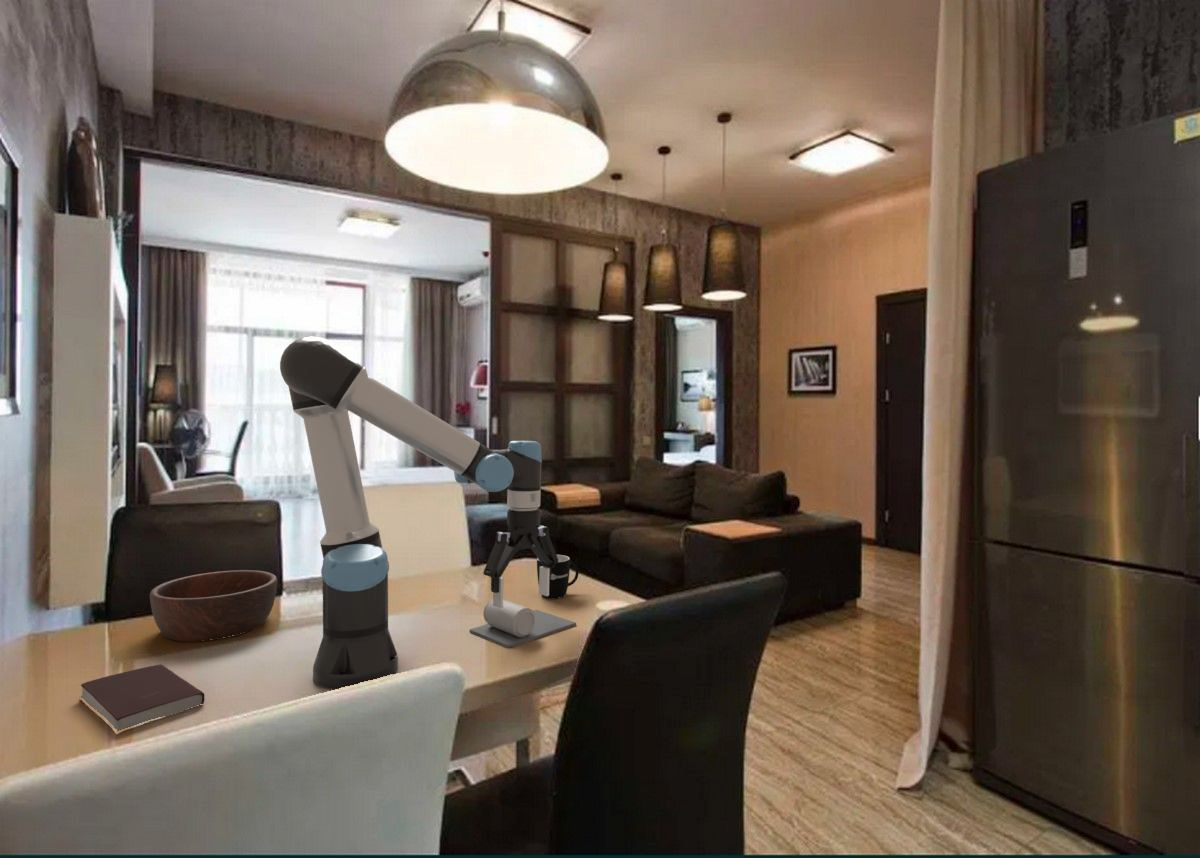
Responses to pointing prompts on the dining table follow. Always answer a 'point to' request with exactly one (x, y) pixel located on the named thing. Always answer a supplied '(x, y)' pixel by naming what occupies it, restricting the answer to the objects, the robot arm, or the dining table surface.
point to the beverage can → (510, 618)
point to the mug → (559, 576)
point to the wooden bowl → (213, 604)
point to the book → (140, 695)
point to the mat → (542, 627)
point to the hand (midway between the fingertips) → (521, 600)
